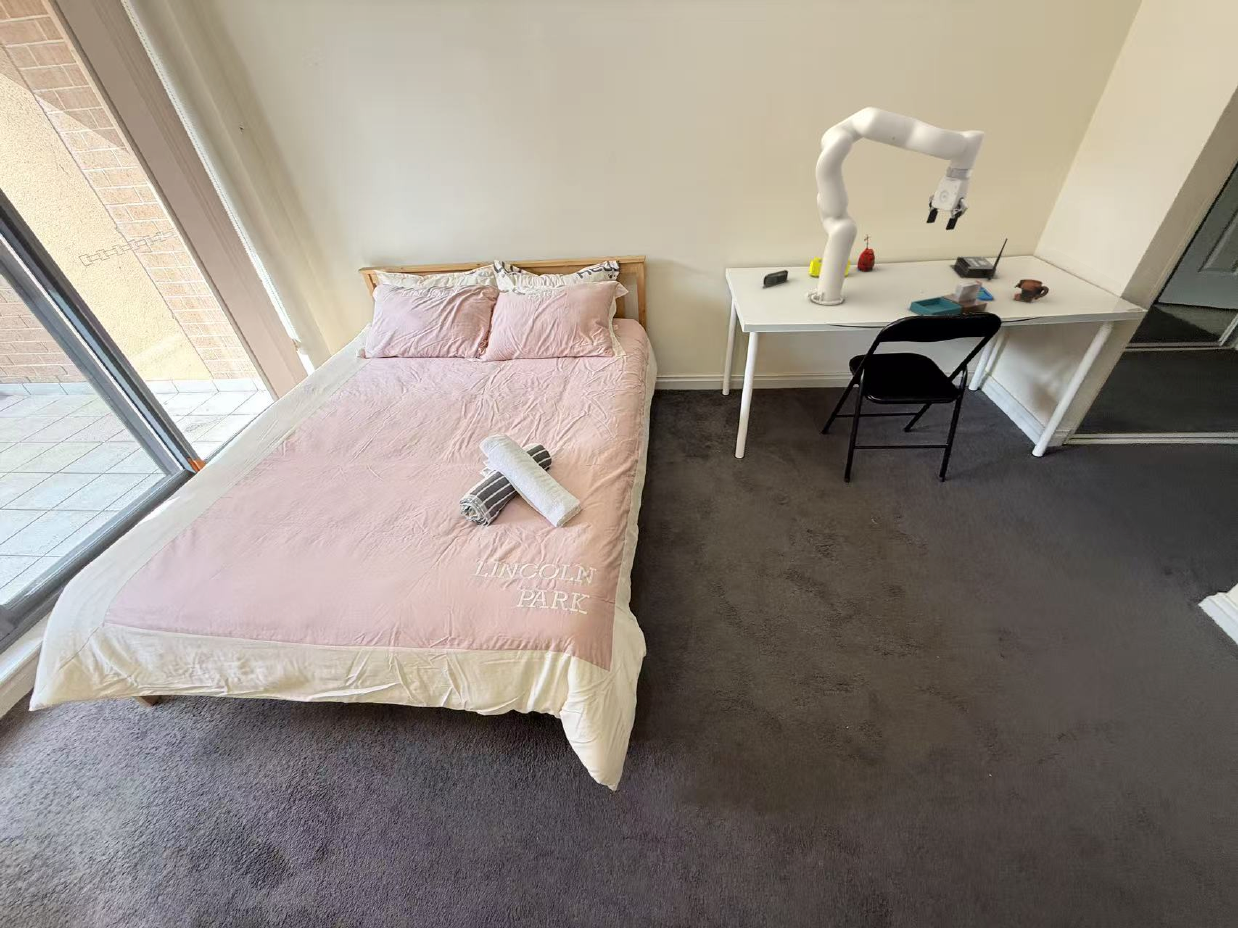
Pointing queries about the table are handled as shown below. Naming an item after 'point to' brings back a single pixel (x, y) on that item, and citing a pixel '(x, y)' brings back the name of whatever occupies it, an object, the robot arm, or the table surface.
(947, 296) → the panel
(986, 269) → the wireless controller
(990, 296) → the handheld gaming device
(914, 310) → the basin
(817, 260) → the yellow toy chassis
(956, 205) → the robot arm
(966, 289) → the white block
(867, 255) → the red clay folk toy
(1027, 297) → the pottery mug
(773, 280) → the mobile phone
